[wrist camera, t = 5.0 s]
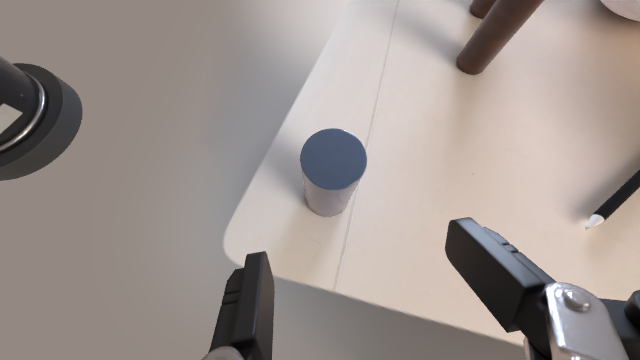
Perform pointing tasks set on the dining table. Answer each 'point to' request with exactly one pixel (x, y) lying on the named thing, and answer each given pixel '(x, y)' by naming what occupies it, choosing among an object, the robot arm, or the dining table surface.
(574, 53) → the dining table surface
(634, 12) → the bowl
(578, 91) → the dining table surface
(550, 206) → the dining table surface
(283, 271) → the dining table surface
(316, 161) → the cylinder
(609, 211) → the pen
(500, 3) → the pegs
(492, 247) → the robot arm
